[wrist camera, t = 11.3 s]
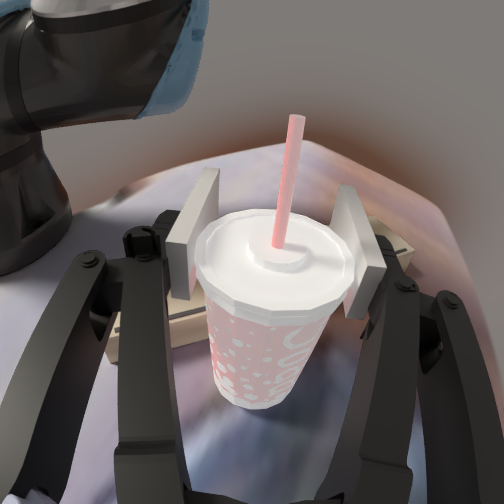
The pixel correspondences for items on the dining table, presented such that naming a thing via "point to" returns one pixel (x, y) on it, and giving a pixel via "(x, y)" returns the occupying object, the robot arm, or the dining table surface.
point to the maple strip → (194, 311)
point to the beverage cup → (269, 290)
